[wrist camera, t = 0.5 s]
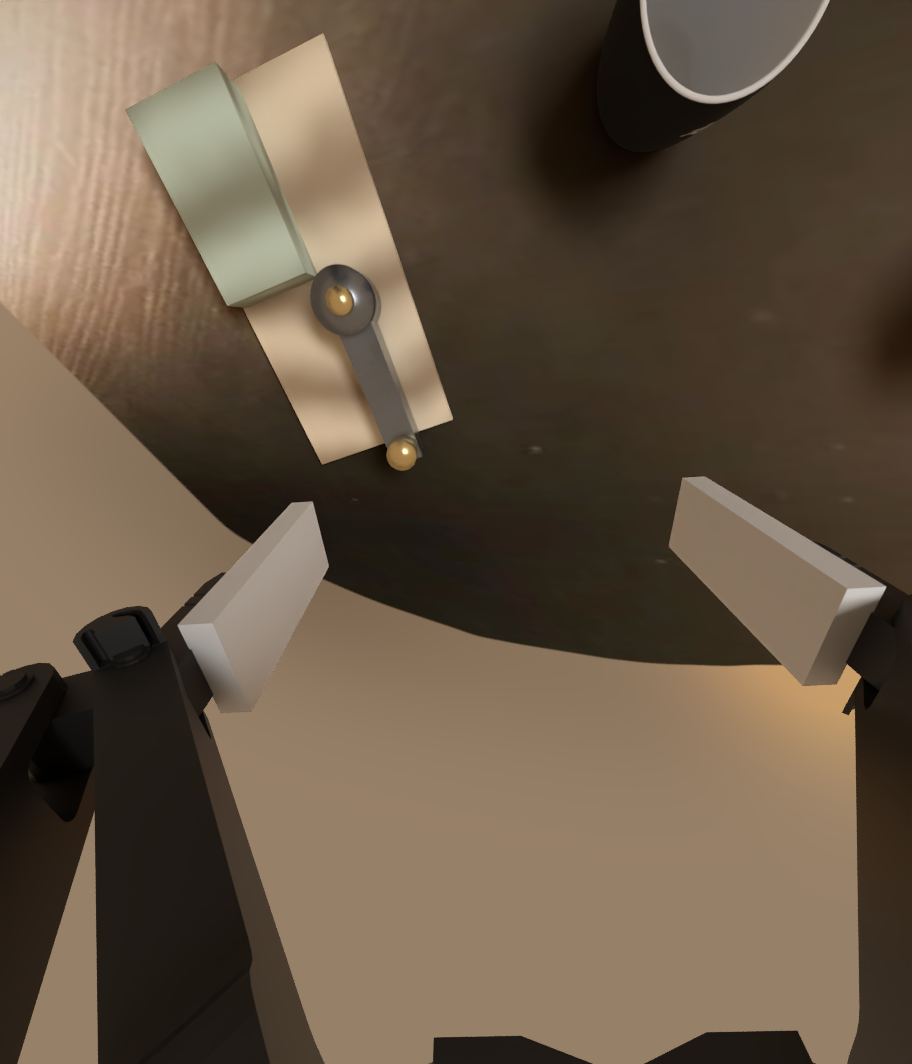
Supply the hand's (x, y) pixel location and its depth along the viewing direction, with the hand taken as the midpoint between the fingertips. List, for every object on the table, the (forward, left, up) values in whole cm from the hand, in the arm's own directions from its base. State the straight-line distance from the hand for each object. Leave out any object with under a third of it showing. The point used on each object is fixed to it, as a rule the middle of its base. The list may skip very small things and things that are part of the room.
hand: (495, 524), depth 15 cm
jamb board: (-12, -9, -24) cm, 28 cm away
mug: (-17, +18, -24) cm, 35 cm away
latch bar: (-5, -7, -23) cm, 24 cm away
